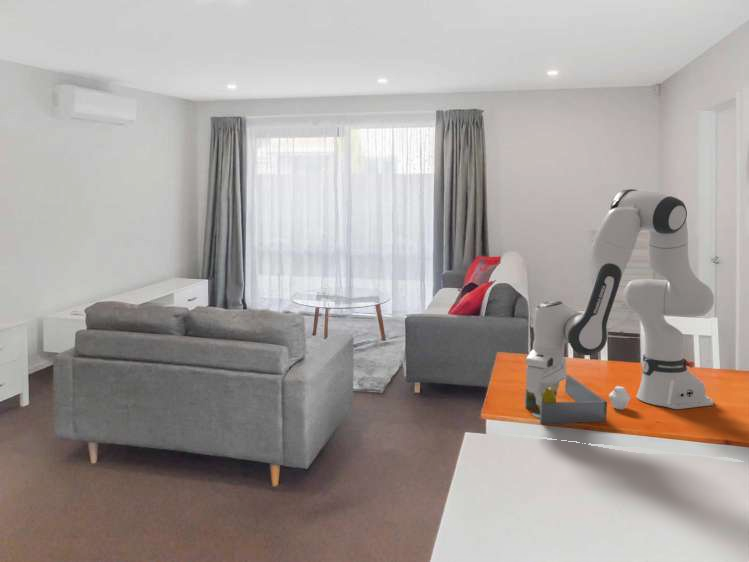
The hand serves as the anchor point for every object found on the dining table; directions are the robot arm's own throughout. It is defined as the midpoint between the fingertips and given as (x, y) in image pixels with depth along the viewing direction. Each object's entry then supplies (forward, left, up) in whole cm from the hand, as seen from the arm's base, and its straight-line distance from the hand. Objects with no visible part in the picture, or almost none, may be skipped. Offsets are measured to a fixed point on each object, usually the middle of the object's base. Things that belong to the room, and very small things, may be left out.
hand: (546, 400), depth 182 cm
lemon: (0, 0, -5) cm, 5 cm away
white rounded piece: (-25, -4, -5) cm, 26 cm away
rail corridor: (-6, -7, -5) cm, 10 cm away
